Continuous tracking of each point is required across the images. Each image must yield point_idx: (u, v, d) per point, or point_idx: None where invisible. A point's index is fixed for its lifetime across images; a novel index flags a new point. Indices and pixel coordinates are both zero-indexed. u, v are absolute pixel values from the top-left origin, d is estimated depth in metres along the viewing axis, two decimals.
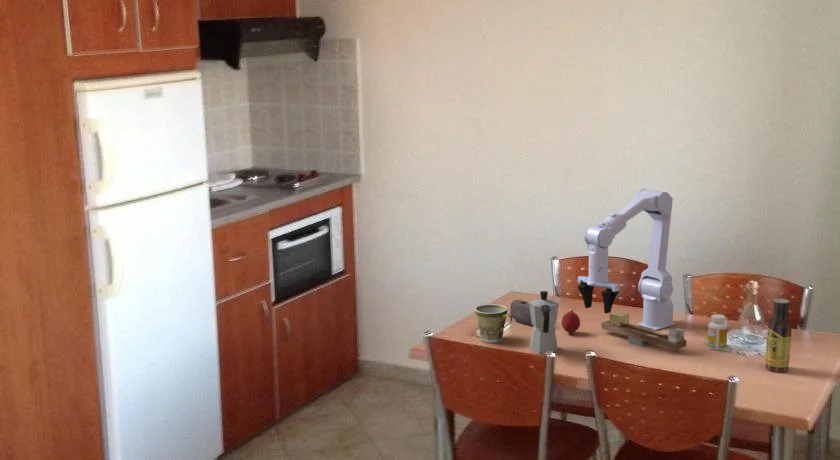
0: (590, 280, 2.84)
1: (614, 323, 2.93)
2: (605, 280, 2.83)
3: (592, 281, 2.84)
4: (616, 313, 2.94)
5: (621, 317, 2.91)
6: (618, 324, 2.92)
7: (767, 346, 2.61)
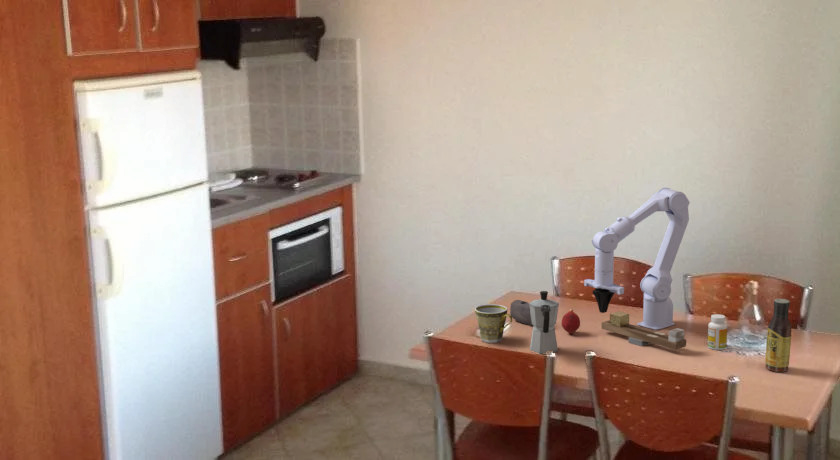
0: (596, 283, 2.96)
1: (614, 323, 2.93)
2: (610, 283, 2.95)
3: (598, 284, 2.95)
4: (616, 313, 2.94)
5: (621, 317, 2.91)
6: (618, 324, 2.92)
7: (767, 346, 2.61)
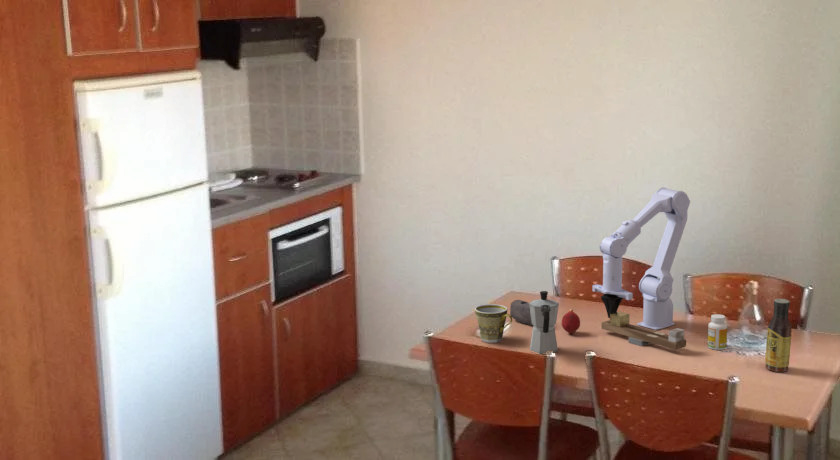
0: (604, 288, 2.93)
1: (614, 323, 2.93)
2: (619, 289, 2.92)
3: (606, 289, 2.93)
4: (616, 313, 2.94)
5: (621, 317, 2.91)
6: (618, 324, 2.92)
7: (767, 346, 2.61)
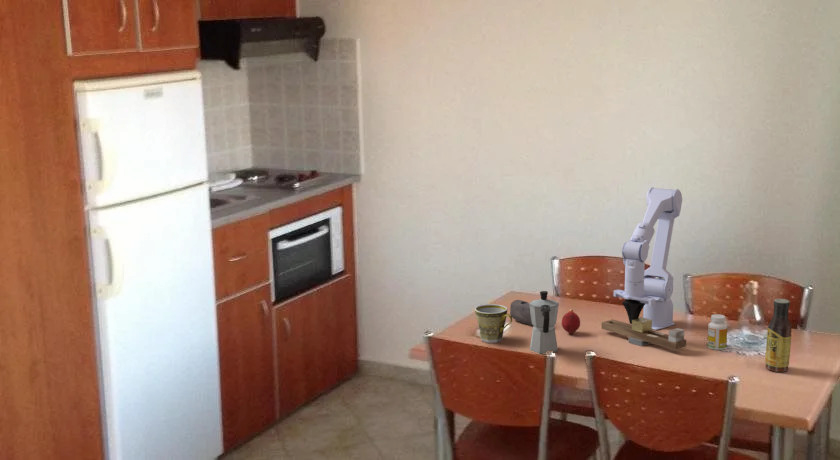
0: (626, 294, 2.87)
1: (636, 329, 2.86)
2: (641, 294, 2.86)
3: (628, 295, 2.86)
4: (638, 319, 2.88)
5: (644, 323, 2.85)
6: (640, 330, 2.85)
7: (767, 346, 2.61)
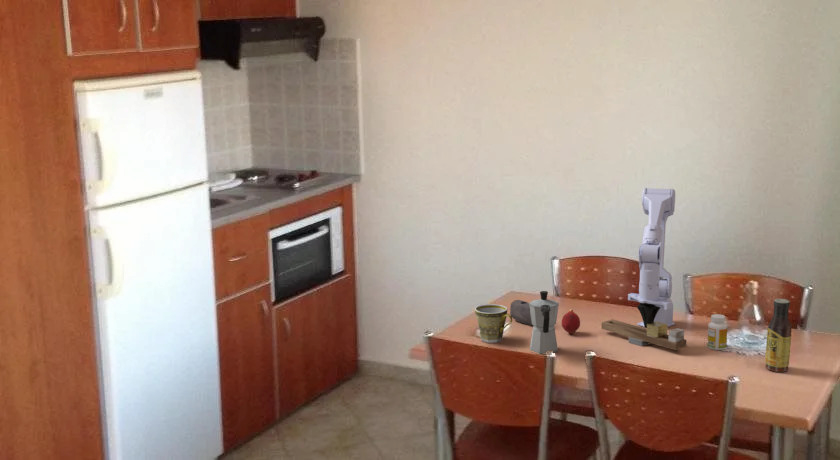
0: (641, 297, 2.83)
1: (651, 333, 2.82)
2: (656, 298, 2.82)
3: (643, 298, 2.82)
4: (653, 323, 2.83)
5: (659, 327, 2.80)
6: (656, 335, 2.81)
7: (767, 346, 2.61)
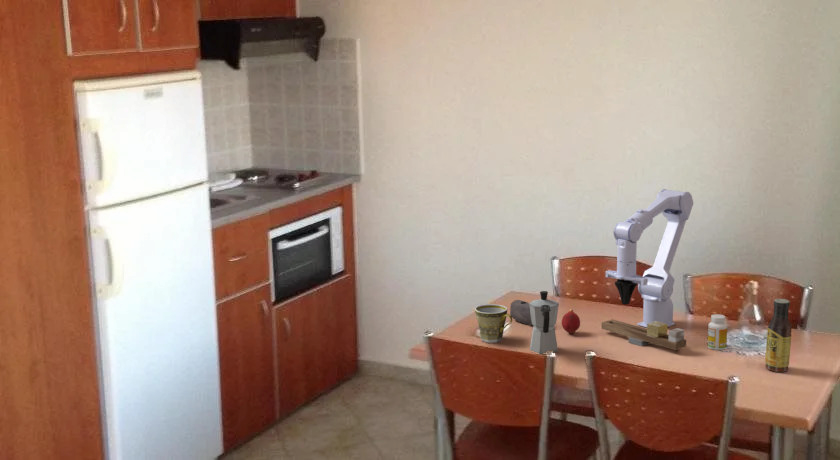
0: (619, 274, 2.89)
1: (652, 334, 2.82)
2: (633, 274, 2.88)
3: (621, 275, 2.88)
4: (654, 323, 2.83)
5: (659, 327, 2.80)
6: (656, 335, 2.81)
7: (767, 346, 2.61)
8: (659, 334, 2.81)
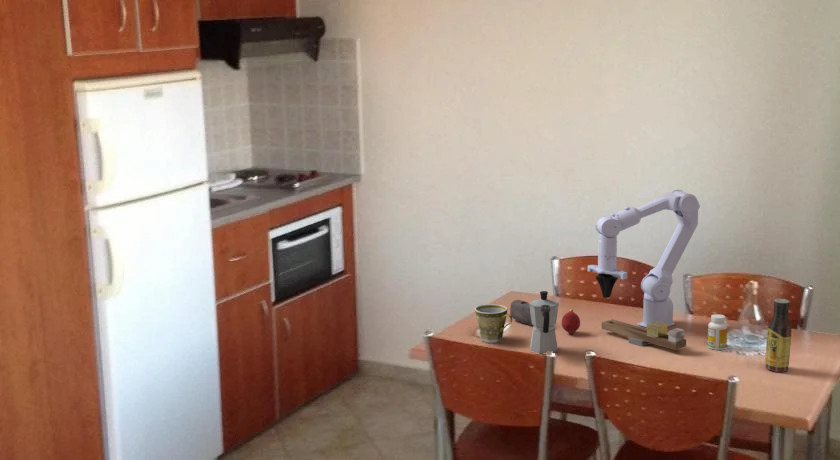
0: (599, 268, 2.97)
1: (652, 334, 2.82)
2: (614, 268, 2.96)
3: (601, 269, 2.96)
4: (654, 323, 2.83)
5: (659, 327, 2.80)
6: (656, 335, 2.81)
7: (767, 346, 2.61)
8: (659, 334, 2.81)
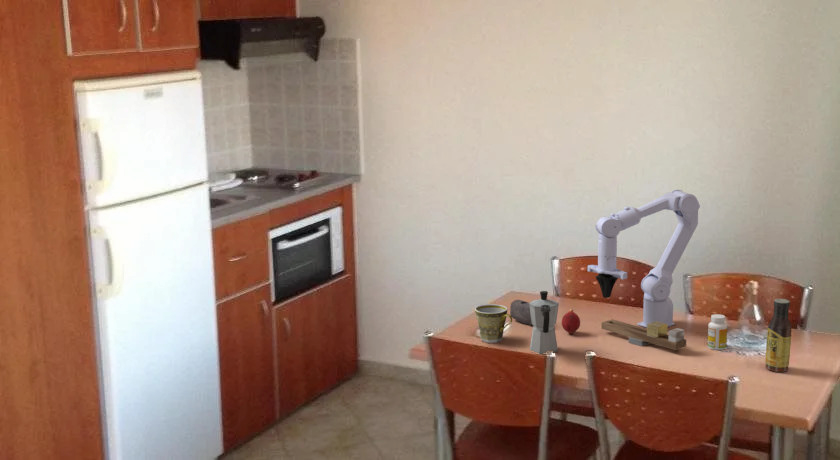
0: (599, 268, 2.97)
1: (652, 334, 2.82)
2: (614, 268, 2.96)
3: (601, 269, 2.96)
4: (654, 323, 2.83)
5: (659, 327, 2.80)
6: (656, 335, 2.81)
7: (767, 346, 2.61)
8: (659, 334, 2.81)
